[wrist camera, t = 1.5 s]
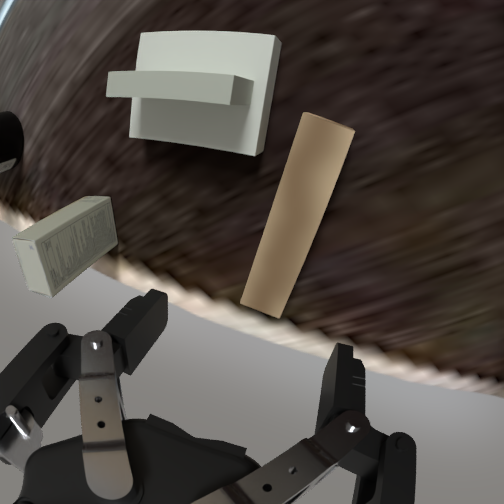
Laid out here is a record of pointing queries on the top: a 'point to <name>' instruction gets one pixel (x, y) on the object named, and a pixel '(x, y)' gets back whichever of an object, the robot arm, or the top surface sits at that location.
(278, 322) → the top surface
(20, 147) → the ink bottle
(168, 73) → the fulcrum
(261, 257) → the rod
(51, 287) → the skincare box
